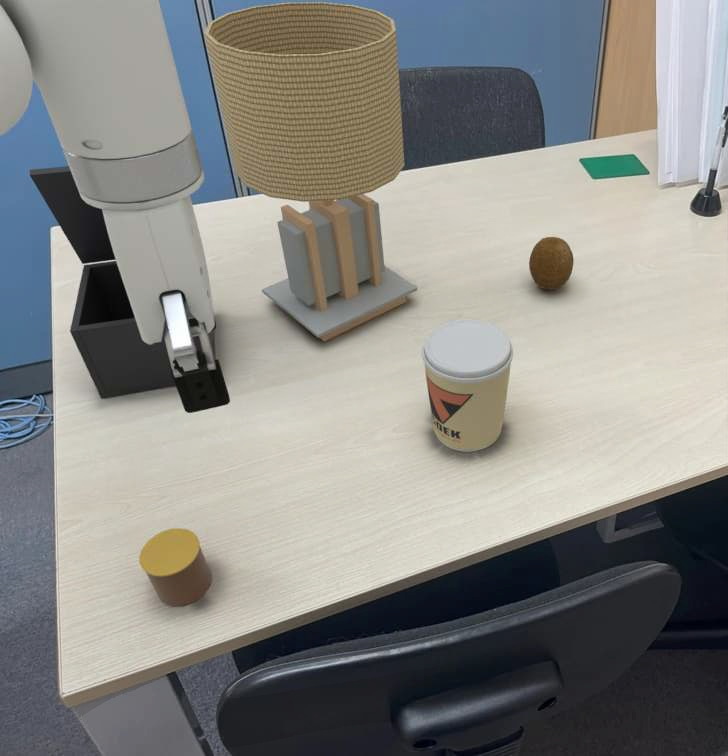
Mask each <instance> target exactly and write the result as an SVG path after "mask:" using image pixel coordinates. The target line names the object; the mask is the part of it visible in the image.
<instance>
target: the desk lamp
mask: <svg viewBox="0 0 728 756" xmlns="http://www.w3.org/2000/svg"><path fill="white" fill-rule="evenodd" d="M203 35H204V38H205V44H206V47H207V52H208V56H209V60H210V65H211V70H212V74H213V78H214V82H215V87H216V91H217V96H218V100H219V104H220V109H221V113H222V118H223V123H224V126H225V130H226V135H227V139H228V143H229V144H228V145H229V149H230V152H231V153H230V154H231V157H232V161H233V165H234V169H235V174H236V176H237V177H238V178H239V179H240V181H241V182H242V183H243V184H244V186H245V187H246V188H247V189H249V190H251V191H255V192H257V193H260V194H262V195H264V196H266V197H268V198H273V199H274V198H275V199H282V200H287V201H295V202H296V201H297V202H302V203H305V202H308V206H309V210H306V211H303V212H299V211H298V210H296V209H295V208H293V207H292V206H290V205H289V204H286V205H285V204H284V205H283V206H280V211H281V216H282V219H281V220H278V221H277V228H278V233H279V239H280V243H281V249H282V254H283V258H284V263H285V268H286V273H287V278H286V279H282V280H280V281H278V282H275V283H273V284H271V285H267V286H266V287H263V288H262V289H261V292H262V293H263V294H264V296H266V297H268V298H269V299H270V300H271V301H272V302H273V303H275V304H276V305H277V306H278V307H280V308H281V309H282V310H283V311H284V312H286V313H287V314H288V315H289V316H291V317H292V319H294V320H296V322H297V323H299V324H300V325H302V326H303V327H304V328H305V329H307V330H308V331H309V333H311V334H312V335H314V336H315V337H316V338H318V339H319V340H321V341H322V342H324V343H325V342H327V341H329V340H330V339H333V338H335V337H337V336H339V335H341V334H344V333H345V332H347V331H349V330H352V329H353V328H355V327H358V326H359V325H361V324H363V323H365V322H368V321H369V320H372V319H374V318H376V317H378V316H380V315H383V314H384V313H386V312H389V311H390V310H393V309H395V308H396V307H398V306H400V305H403V304H405V303H407V296H408V295H410V294H413V293H414V292H416V291H418V287H417V286H416V285H414V284H413V283H411V282H410V281H408V280H407V279H405V278H404V277H402V276H400V274H398V273H396V272H395V271H394V270H392V269H390V268H389V267H388V266H386V265H385V258H384V257H385V256H384V248H383V237H382V226H381V225H382V224H381V213H380V204H379V202H377V201H376V200H374V199H373V198H371V197H369V196H367V194H368V193H372V192H374V191H376V190H378V189H380V188H382V187H384V186H385V185H387V184H389V183H391V182H393V181H395V179H396V178H397V177H398V176H399V174H400V173H401V172H402V170H403V169H404V167H405V152H404V136H403V135H404V134H403V123H402V122H403V119H402V102H401V87H400V71H399V70H400V69H399V57H398V56H399V55H398V54H399V53H398V41H397V40H398V39H397V29H396V25H395V20H394V19H393V18H391V17H389V16H387V15H386V14H384V13H382V12H381V11H378V10H375V9H370V8H367V7H362V6H358V5H353V4H345V3H335V2H334V3H333V2H324V1H319V2H318V1H316V2H315V1H313V2H311V1H310V2H305V1H304V2H281V3H280V2H279V3H272V4H264V5H256V6H250V7H246V8H243V9H239V10H235V11H231V12H228V13H227V12H226V13H224V15H221V16H219V17H217V18H216V19H213V20H212V21H209V22H208V23H207V27H206V28H205V30H204V33H203Z"/></svg>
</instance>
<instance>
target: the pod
mask: <svg viewBox="0 0 728 756" xmlns="http://www.w3.org/2000/svg"><path fill="white" fill-rule="evenodd" d="M200 543H201V542H200V540H199V537H198V536H197V534H195V532H194V531H192V530H190V529H187V528H177V527H176V528H170V529H166V530H163V531H161V532H159V533H157V534H155V535H154V536H153V537H151V538H150V539H149V540H148V541H147V542H146V543H145V544H144V546H143V547H142V549H141V551H140V554H139V564H140V567H141V569H142V570H143V571H144V572H145V574H146V576H147V578H148V580H149V582H150V583H151V585H152V587H153V589H154V591H155V592H156V594H157V596H158V598H159V600H160V601H161V603H163V604H165V605H167V606H170V607H183V606H187V605H190V604H192V603H194V602H196V601H198V600H199V599H200V598H202V597H203V596H204V595H205V594H206V592H208V590H209V588H210V586H211V584H212V578H213V577H212V572H211V569H210V567H209V564H208V562H207V559H206V557H205V555H204V553H203V549H202V547H201V545H200Z"/></svg>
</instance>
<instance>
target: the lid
mask: <svg viewBox="0 0 728 756" xmlns="http://www.w3.org/2000/svg"><path fill="white" fill-rule="evenodd" d="M29 177H30V179H31V181H32V182H33V184H34V185H35V187H36V188H37V190H38V192H39V193H40V195H41V197H42V199H43V200H44V202H45V204H46V205H47V207H48V209H49V210H50V212H51V214H52V216H54V219H55V220H56V222H57V224H58V225H59V228H60V229H61V230H62V232H63V234H64V235H65V237H66V239H67V240H68V242H69V244H70V245H71V247H72V249H73V251H74V253H75V254H76V255H77V258H78V259H79V261H80V262H81V264H82V265H87V264H95V263H103V262H111V261H116V259H115V256H114V252H113V249H112V246H111V242H110V239H109V235H108V231H107V228H106V224H105V220H104V216H103V211H102V209H100V208H96V207H93V206H91V205H89V204H87V203H86V202H85V201H84V200H83V199H82V198H81V196H80V193H79V191H78V188H77V186H76V183H75V180H74V178H73V175H72V173H71V170H70V168H69V165H65V166H56V167H45V168H34V169H29Z"/></svg>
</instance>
